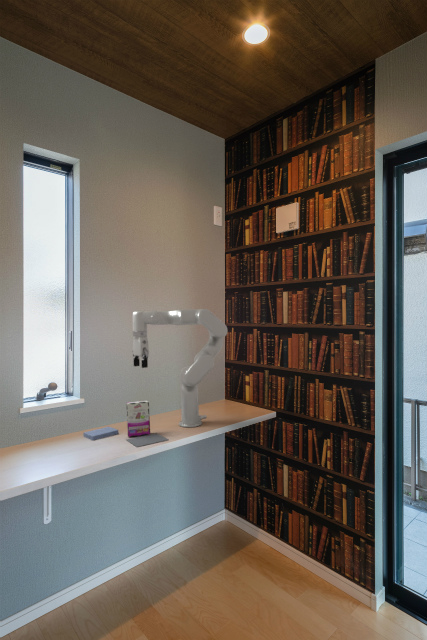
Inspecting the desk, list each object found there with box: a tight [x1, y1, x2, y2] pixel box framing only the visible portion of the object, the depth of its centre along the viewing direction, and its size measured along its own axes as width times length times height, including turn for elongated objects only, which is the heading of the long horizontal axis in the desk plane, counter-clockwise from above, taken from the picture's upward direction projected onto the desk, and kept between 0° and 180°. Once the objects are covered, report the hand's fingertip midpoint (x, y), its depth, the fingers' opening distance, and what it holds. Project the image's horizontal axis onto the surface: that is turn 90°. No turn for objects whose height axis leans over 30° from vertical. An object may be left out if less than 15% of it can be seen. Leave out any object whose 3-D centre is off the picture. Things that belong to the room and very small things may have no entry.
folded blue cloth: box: [83, 426, 119, 441], centre depth 188 cm, size 14×10×2 cm
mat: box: [125, 432, 169, 448], centre depth 177 cm, size 16×14×1 cm
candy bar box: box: [126, 400, 151, 438], centre depth 186 cm, size 11×5×16 cm, turn 106°
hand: (140, 366), depth 196 cm, fingers open, 9 cm apart
